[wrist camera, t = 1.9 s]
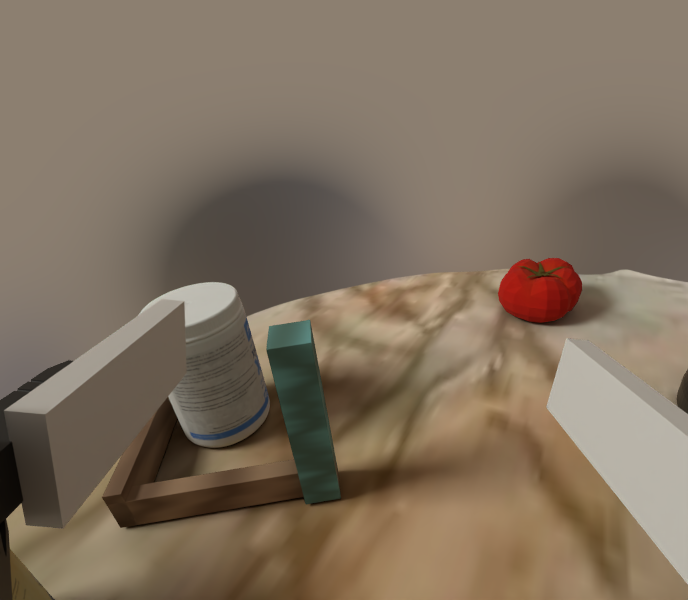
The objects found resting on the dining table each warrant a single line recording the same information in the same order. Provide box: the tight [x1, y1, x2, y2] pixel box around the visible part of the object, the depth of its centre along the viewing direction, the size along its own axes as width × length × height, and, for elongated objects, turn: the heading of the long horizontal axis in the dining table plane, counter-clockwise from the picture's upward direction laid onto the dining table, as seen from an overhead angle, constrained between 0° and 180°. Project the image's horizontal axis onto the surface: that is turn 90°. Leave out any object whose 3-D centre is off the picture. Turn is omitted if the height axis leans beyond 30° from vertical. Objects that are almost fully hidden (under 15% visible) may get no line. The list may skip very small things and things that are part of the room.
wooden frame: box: [102, 320, 341, 528], centre depth 39 cm, size 19×19×16 cm
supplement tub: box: [139, 282, 270, 448], centre depth 42 cm, size 10×10×15 cm
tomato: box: [498, 258, 582, 323], centre depth 56 cm, size 10×11×6 cm
